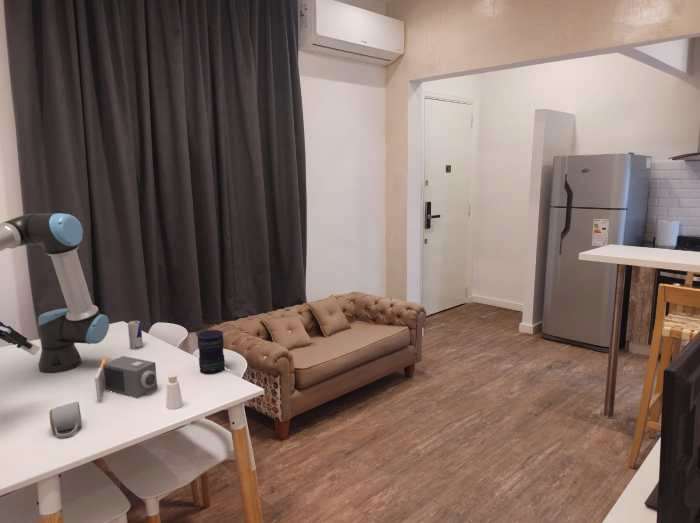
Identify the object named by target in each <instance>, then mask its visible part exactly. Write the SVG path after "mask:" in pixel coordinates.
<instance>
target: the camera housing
mask: <svg viewBox="0 0 700 523" xmlns="http://www.w3.org/2000/svg"><path fill="white" fill-rule="evenodd" d="M156 367H157V366H156V362H154V361H149V360H144V359H140V358H135V357H131V356H125V355H123V356H120V357H117V358H115V359H113V360H110V361H107V363H105V364H103V370H104V380H105V386H104V390H105V391H106V390H108V391H107V392H110V391H112V392H111V393H114V392H116V394H118V393H119V395H122V394H123V396H126V395H127V397H130V396H131V398H134V397H135V399H139V397H140V398H142V397H143V396H145V395H148V394H149V393H151V392H152V391H155V390H156V389H158V382H157V381H158V379H157V370H156ZM141 396H142V397H141Z"/></svg>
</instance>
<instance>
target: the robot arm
mask: <svg viewBox="0 0 700 523" xmlns="http://www.w3.org/2000/svg"><path fill="white" fill-rule="evenodd" d="M83 234H84V230H83V226H82V224H81V222H80V220H78V219H77V217H75V216H73V215H72V214H69V213H61V212H60V213H59V212H57V213H55V212H54V213H50V212H49V213H48V212H47V213H37V212H36V213H26V214H22V215H20V216H17V217H14V218H11V219H9V220H6V221H3V222H1V223H0V252H2V251H4V250H6V249H13V250H14V249H17V248H19V247H22V246H42V248H43V252H44V254H45V255H47V256H49V257H50V258H51V261H52V264H53V267H54V270H55V273H56V277H57V279H58V282H59V286H60V290H61V293H62V295H63V298H64V301H65V305H66V308H58V309H53V310H50V311H47V312H44V313H41V314H40V315H39V316H38V318H37V320H38V321H37V322H38V323H37V324H38V325H37V326H38V331H39V339H40V346H37V345H36V344H34V343H32V342H31V341H29V340H28V338H27V337H26V336H24V335H23V334H21V333H19V332H18V331H16V329H14V328H13V327H12V326H9V325H5V324H4V323H3V322H2V321H0V339H1V340H2V341H5V342H7V343H8V344H12V345H13V346H16V348H18V349H21V350H23V351H26V352H28V353H29V354H31V355H33V356H35V355H36V354H37V353H38V351H39V350H40V349H41V353H40V357H39V362H38V371H39V372H42V373H47V374H48V373H49V374H50V373H52V374H53V373H60V372H65V371H69V370H72V369H74V368H77V367H78V366H80V365H81V364H82V357H81V355H80V353H79V351H78V349H77V347H76V345H75V344H87V345H91V344H99V343H101V342H103V341H104V340H105V338H106V336H107V334H108V332H109V328H110V320H109V318H108V316H107V315H106V314H102V313H100V310H99V307H98V306H97V305H95V304H93V302H92V299H91V295H90V291H89V288H88V284H87V282H86V279H85V278H86V277H85V275H84V272H83V269H82V265H81V262H80V258H79V255H78V254H79V253H78V252H77V251H78V249H79V247H80V244H81V242H82V241H83Z"/></svg>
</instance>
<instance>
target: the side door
mask: <svg viewBox="0 0 700 523" xmlns="http://www.w3.org/2000/svg"><path fill="white" fill-rule="evenodd" d="M107 362H108V358H107V357H104V358H103V359H102V361H101V363H100V366H98V370H97V372H96V375H95V377H94V383H95V390H96V400H97V401H101V400H102V396H103V395H104V394H103V393H104V390H105V380H104V370H103V364H105V363H107Z"/></svg>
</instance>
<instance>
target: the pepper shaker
mask: <svg viewBox="0 0 700 523" xmlns="http://www.w3.org/2000/svg"><path fill="white" fill-rule="evenodd" d="M167 378H168V379H167V380H168V382H167V384H166V401H165V402H166V403H165V404H166V405H165V406H166V408H167V409H168V410H176V408H177V409H180V408H182V406H183V405H184V403H183V397H182V391H181V388H180V382H179V381H178V376H177V373H176V374H175V373H172V374H168V376H167Z"/></svg>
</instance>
